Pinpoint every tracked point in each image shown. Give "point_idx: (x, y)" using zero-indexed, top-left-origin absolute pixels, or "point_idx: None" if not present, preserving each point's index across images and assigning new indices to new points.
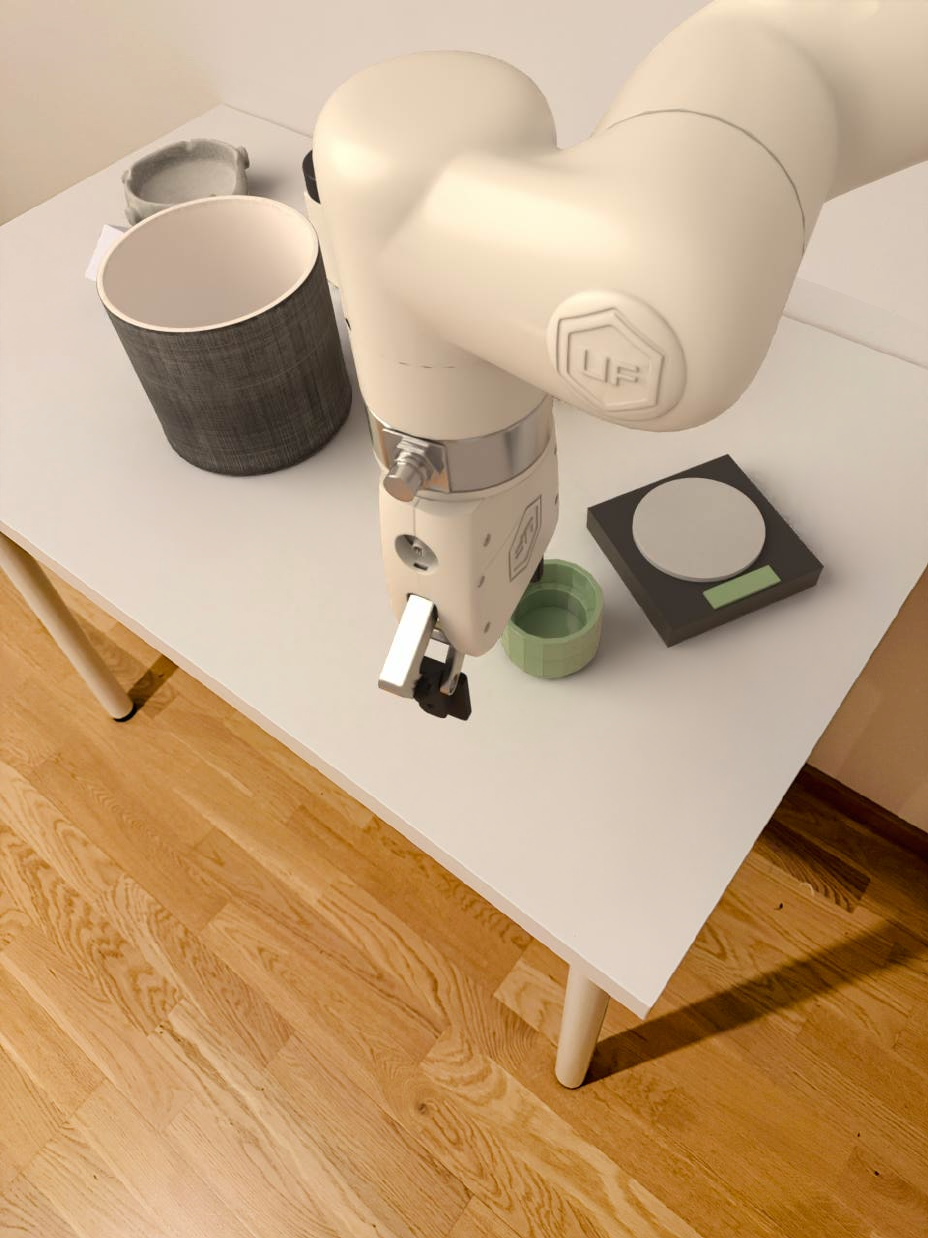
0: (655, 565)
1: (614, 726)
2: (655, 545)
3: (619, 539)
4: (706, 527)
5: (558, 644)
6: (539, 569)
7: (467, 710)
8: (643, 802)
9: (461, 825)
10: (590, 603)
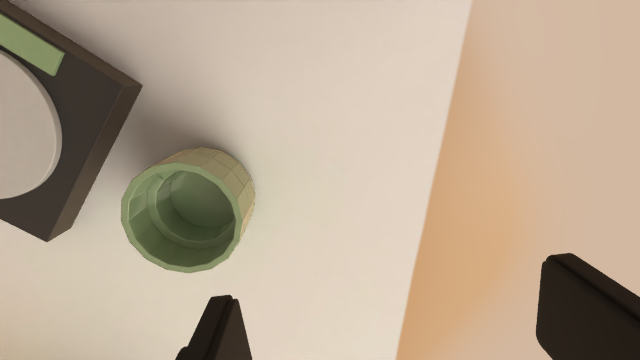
0: (59, 142)
1: (255, 91)
2: (34, 155)
3: (58, 193)
4: None
5: (227, 184)
6: (218, 323)
7: (596, 271)
8: (313, 25)
9: (414, 164)
10: (152, 180)
